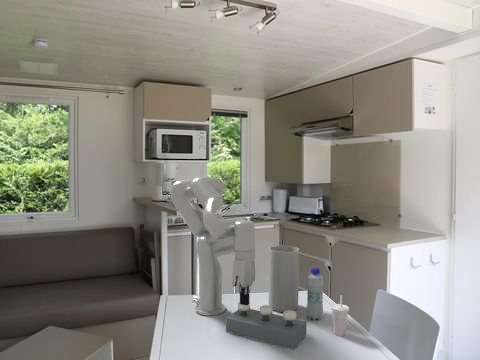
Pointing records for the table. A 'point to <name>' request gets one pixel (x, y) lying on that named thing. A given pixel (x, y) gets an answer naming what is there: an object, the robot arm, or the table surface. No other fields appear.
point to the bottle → (315, 294)
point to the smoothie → (339, 317)
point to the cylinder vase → (283, 278)
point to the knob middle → (266, 312)
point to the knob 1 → (243, 308)
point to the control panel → (266, 328)
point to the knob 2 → (289, 317)
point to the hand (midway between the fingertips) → (244, 304)
